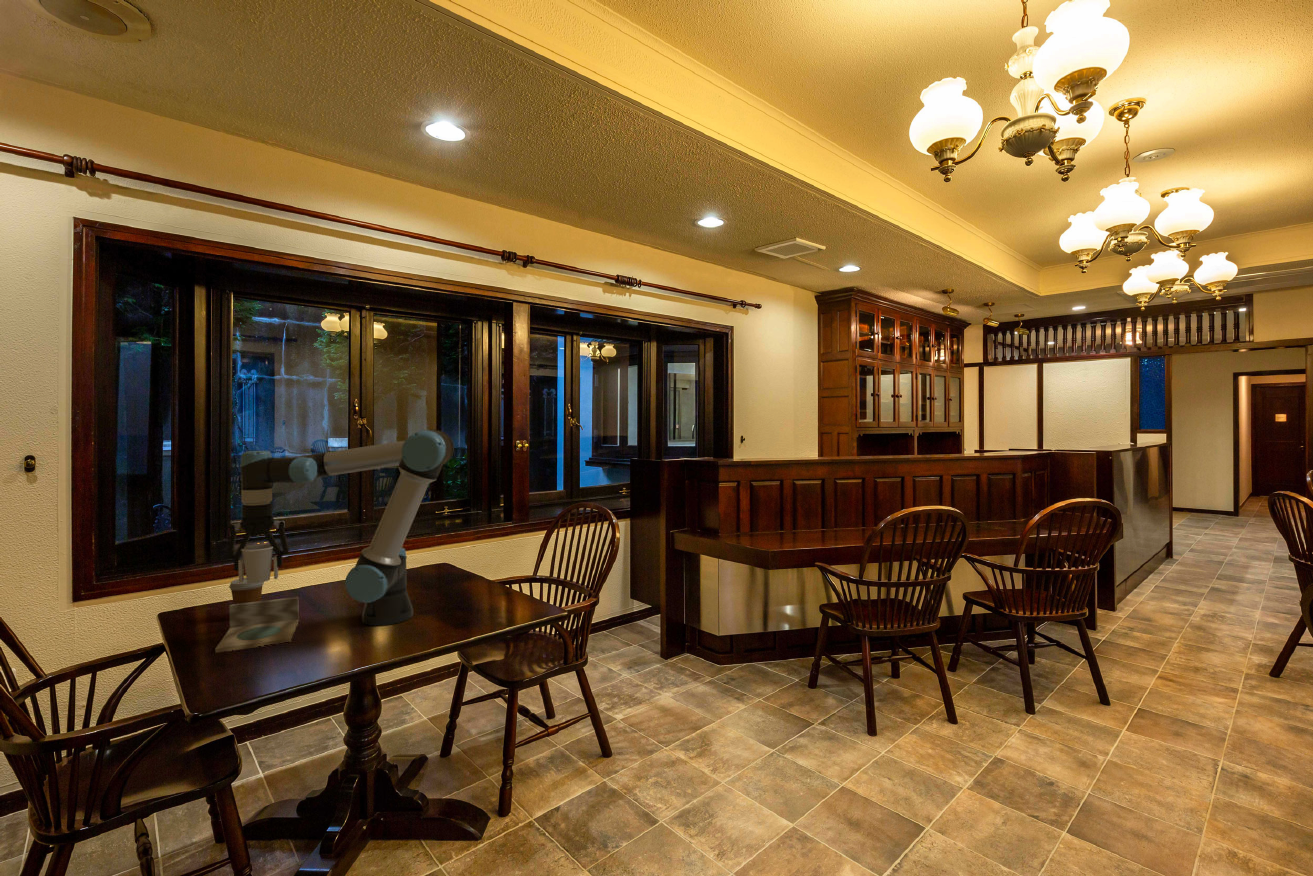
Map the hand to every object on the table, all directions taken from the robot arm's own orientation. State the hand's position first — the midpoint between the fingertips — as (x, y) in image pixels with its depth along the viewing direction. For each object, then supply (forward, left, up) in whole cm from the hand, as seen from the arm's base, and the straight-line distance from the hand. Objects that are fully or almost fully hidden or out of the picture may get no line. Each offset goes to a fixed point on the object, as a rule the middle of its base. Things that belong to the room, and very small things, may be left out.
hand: (258, 579), depth 178 cm
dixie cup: (0, 0, 0) cm, 0 cm away
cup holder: (0, -1, -17) cm, 17 cm away
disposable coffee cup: (+7, -25, -18) cm, 31 cm away
